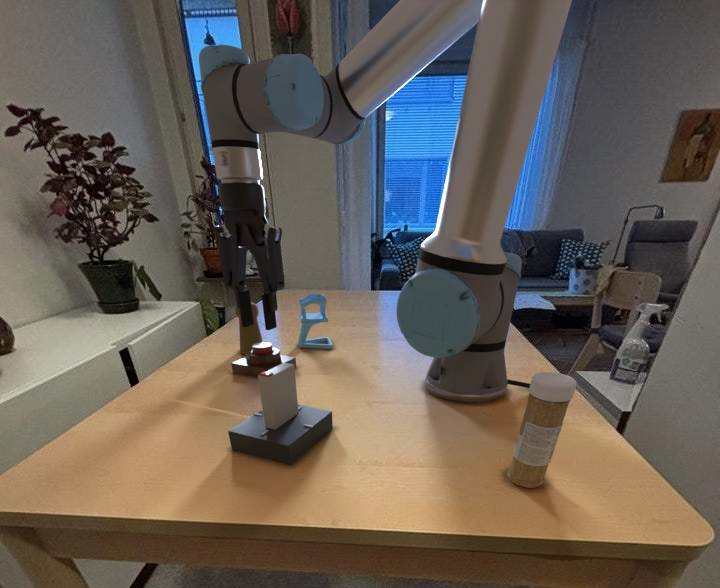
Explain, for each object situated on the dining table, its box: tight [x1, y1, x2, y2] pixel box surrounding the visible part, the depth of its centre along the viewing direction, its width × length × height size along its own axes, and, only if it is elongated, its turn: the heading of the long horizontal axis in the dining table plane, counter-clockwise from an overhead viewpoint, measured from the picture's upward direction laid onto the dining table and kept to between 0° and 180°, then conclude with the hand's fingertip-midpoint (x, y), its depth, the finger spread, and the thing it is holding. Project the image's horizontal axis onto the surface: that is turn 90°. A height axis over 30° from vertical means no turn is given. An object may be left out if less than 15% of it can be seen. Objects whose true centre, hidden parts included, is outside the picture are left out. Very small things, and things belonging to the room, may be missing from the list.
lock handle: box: [257, 363, 299, 430], centre depth 55 cm, size 6×2×8 cm, turn 155°
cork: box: [234, 301, 264, 356], centre depth 93 cm, size 6×6×11 cm
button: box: [252, 341, 273, 355], centre depth 82 cm, size 4×4×2 cm
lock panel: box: [227, 403, 334, 466], centre depth 58 cm, size 10×12×3 cm
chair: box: [297, 293, 334, 350], centre depth 97 cm, size 8×8×12 cm
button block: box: [230, 346, 297, 379], centre depth 83 cm, size 10×9×4 cm
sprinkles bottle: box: [507, 371, 578, 489], centre depth 47 cm, size 5×5×13 cm
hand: (259, 326), depth 79 cm, fingers open, 5 cm apart
